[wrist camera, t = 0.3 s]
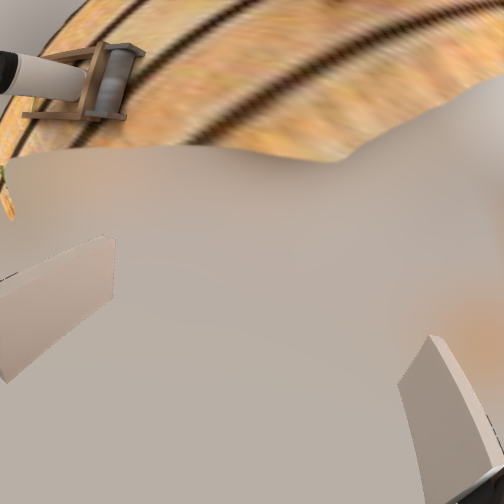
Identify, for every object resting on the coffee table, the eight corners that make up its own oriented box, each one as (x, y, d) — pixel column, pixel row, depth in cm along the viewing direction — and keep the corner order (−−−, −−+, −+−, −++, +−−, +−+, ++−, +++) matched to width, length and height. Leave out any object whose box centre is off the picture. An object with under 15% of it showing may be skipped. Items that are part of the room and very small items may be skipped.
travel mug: (82, 63, 34) (-3, 43, 16) (96, 80, 35) (4, 60, 16) (63, 90, 37) (-22, 80, 18) (76, 108, 37) (-16, 102, 18)
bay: (47, 60, 35) (30, 56, 30) (147, 48, 32) (130, 38, 28) (31, 118, 39) (14, 118, 35) (124, 124, 37) (104, 121, 32)
